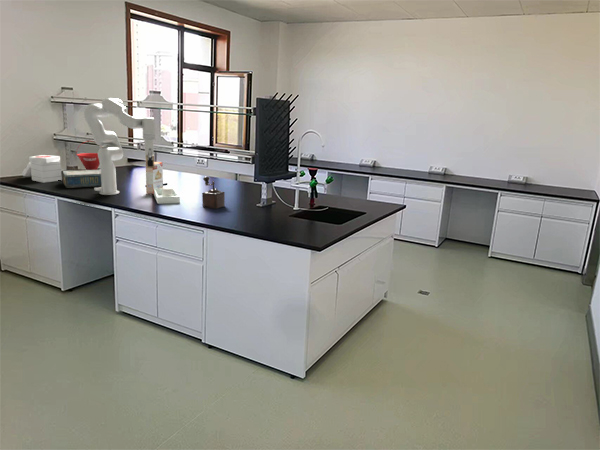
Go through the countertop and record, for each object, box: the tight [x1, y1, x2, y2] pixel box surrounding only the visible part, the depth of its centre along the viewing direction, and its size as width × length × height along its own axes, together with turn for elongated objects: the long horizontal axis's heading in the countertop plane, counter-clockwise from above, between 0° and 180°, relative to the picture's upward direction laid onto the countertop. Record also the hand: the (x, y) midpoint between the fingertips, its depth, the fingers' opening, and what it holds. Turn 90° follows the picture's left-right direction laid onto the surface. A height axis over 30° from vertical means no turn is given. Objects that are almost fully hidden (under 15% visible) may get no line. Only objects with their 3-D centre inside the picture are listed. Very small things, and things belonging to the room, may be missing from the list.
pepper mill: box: [201, 176, 226, 210], centre depth 291 cm, size 16×11×18 cm
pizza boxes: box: [21, 154, 63, 183], centre depth 353 cm, size 19×30×18 cm, turn 58°
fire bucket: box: [75, 140, 103, 170], centre depth 365 cm, size 22×20×30 cm
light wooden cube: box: [145, 154, 155, 169], centre depth 297 cm, size 5×5×8 cm
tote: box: [153, 187, 181, 205], centre depth 304 cm, size 14×30×5 cm, turn 22°
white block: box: [162, 187, 173, 197], centre depth 296 cm, size 6×6×8 cm
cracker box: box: [145, 161, 164, 195], centre depth 324 cm, size 14×6×21 cm, turn 168°
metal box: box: [61, 168, 101, 189], centre depth 342 cm, size 21×32×10 cm, turn 122°
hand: (150, 165), depth 298 cm, fingers closed on light wooden cube, 5 cm apart
